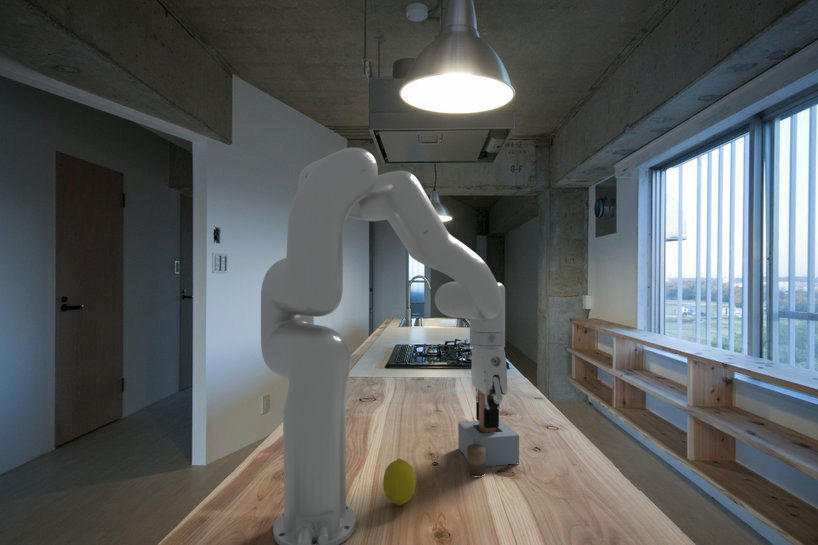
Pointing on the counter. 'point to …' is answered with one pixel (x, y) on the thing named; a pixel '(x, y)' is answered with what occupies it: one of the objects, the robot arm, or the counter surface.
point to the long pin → (481, 414)
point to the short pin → (476, 460)
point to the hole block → (490, 442)
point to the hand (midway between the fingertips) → (487, 422)
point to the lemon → (399, 482)
